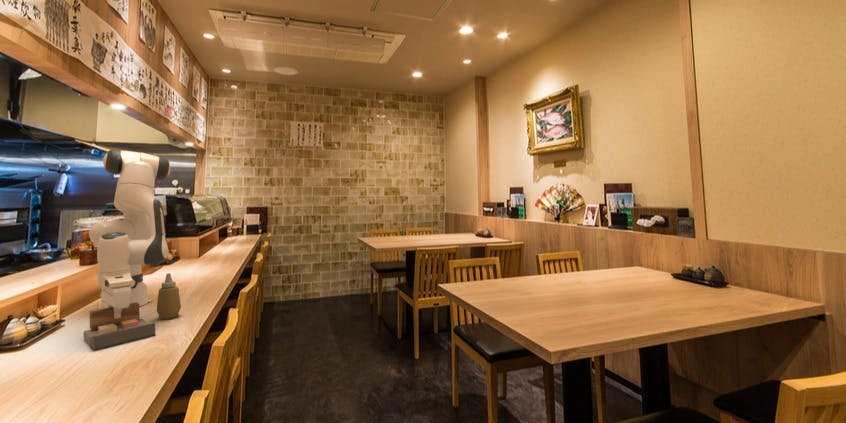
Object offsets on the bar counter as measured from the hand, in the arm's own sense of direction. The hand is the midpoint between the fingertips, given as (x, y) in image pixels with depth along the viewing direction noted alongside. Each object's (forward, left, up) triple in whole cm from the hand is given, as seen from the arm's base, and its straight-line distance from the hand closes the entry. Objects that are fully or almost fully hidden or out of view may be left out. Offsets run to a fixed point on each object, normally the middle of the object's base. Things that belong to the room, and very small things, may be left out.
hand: (115, 316), depth 124 cm
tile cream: (+5, -3, -3) cm, 6 cm away
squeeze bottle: (-5, +18, -6) cm, 20 cm away
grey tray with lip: (+6, 0, -6) cm, 9 cm away
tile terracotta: (+5, +3, -3) cm, 6 cm away
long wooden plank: (0, 0, -3) cm, 3 cm away
